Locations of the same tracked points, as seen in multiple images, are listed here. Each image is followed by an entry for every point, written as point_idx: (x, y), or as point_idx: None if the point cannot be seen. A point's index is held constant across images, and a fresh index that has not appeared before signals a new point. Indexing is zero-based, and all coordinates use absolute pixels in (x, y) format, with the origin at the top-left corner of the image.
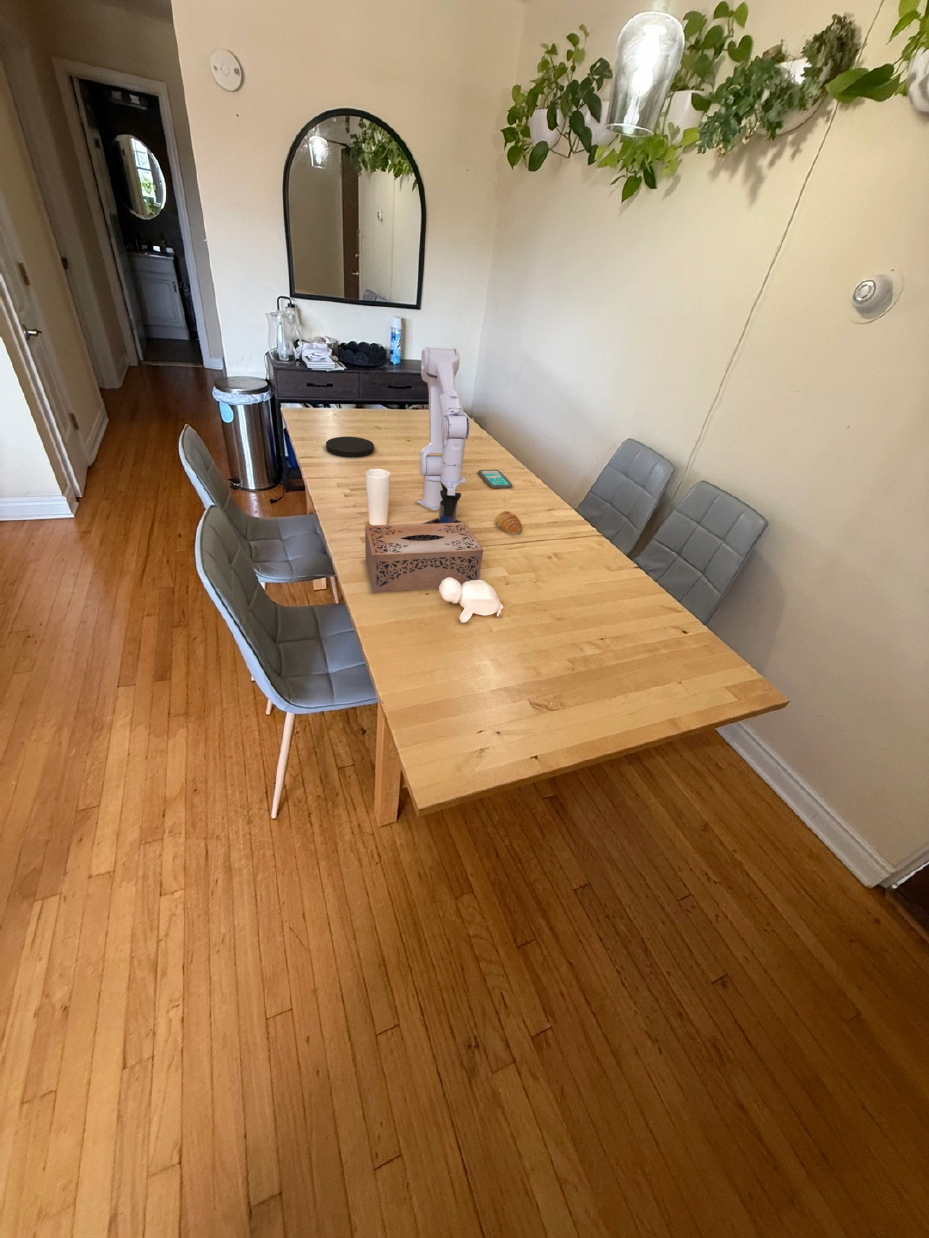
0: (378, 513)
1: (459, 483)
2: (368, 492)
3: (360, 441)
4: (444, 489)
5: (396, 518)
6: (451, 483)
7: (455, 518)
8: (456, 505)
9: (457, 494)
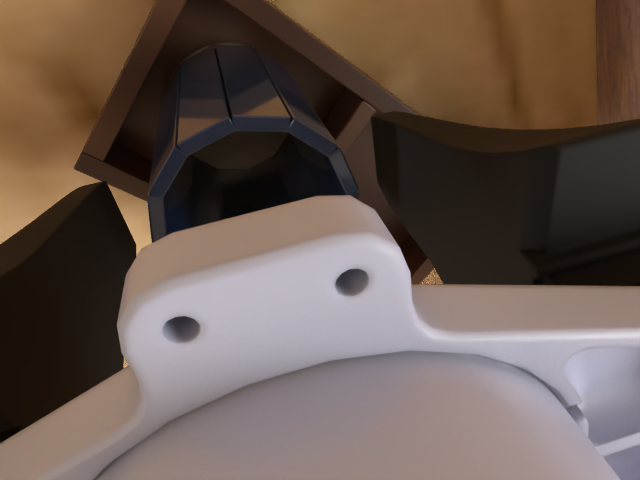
0: None
1: (583, 319)
2: None
3: None
4: (109, 376)
5: None
6: (636, 440)
7: (263, 71)
8: (286, 120)
9: (629, 192)
